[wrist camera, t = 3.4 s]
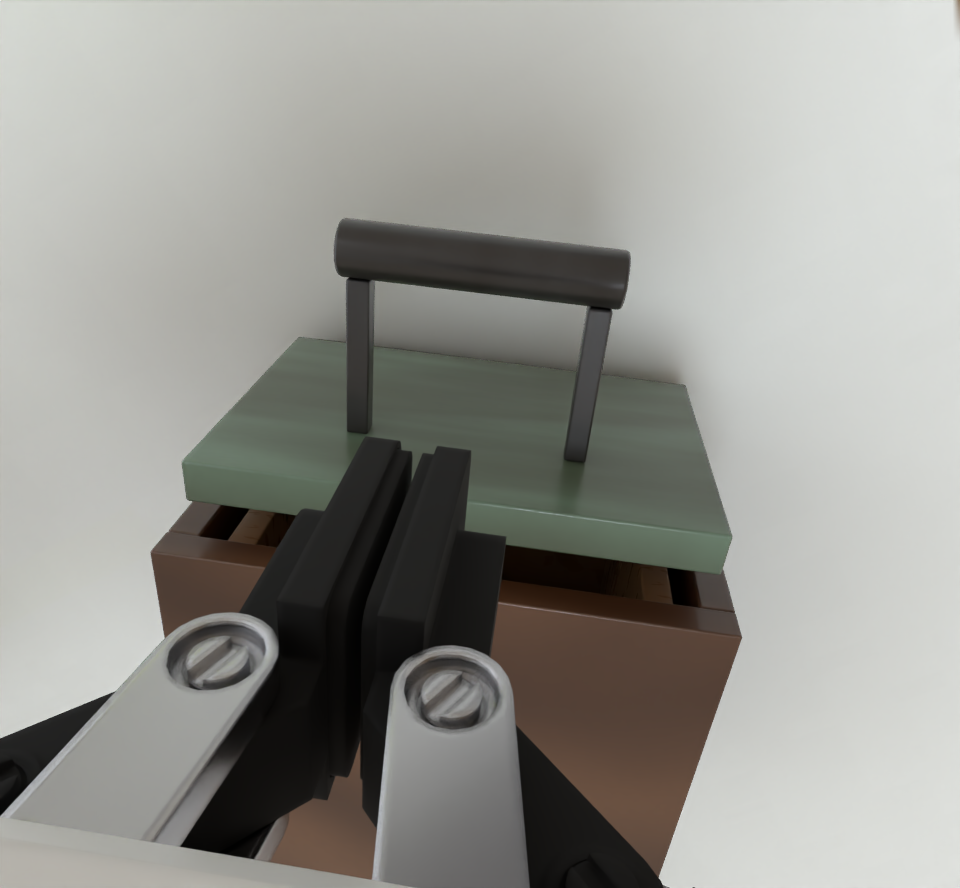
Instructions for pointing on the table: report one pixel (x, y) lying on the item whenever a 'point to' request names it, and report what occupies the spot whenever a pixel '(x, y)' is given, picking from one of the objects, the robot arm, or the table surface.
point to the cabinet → (521, 687)
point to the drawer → (483, 422)
